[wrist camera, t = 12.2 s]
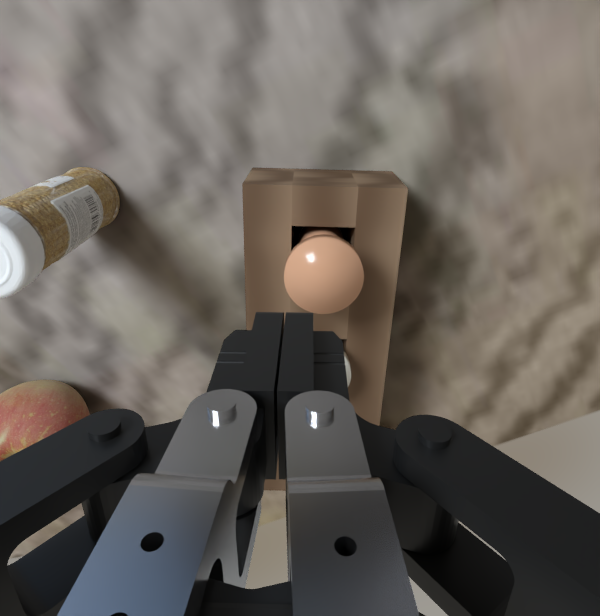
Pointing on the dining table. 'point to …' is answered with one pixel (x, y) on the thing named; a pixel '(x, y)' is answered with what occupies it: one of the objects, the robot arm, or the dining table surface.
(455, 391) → the dining table surface
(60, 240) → the sprinkles bottle
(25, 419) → the apple
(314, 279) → the terracotta plug
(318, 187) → the walnut block
